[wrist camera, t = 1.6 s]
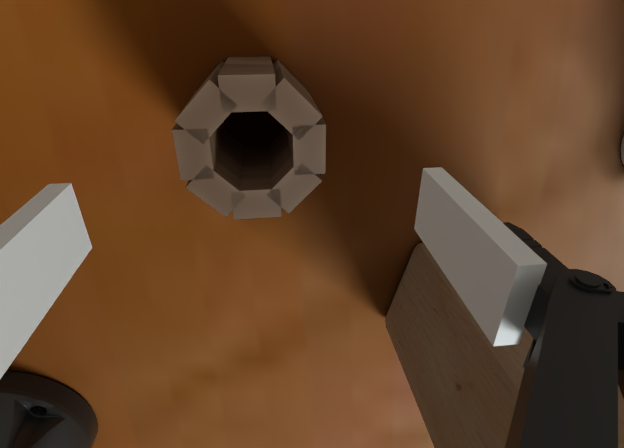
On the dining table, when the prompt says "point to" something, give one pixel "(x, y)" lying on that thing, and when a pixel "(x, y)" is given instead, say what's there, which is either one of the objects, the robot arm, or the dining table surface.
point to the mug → (622, 150)
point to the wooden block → (456, 361)
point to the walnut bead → (251, 160)
